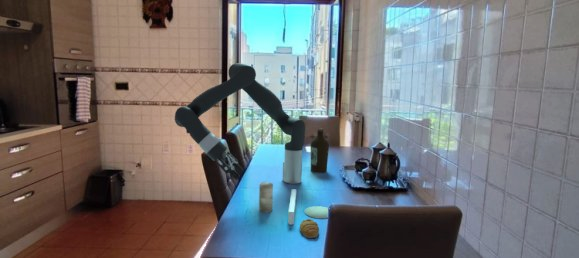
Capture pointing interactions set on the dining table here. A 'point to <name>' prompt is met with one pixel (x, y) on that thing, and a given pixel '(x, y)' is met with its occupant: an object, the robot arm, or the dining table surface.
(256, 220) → the dining table surface
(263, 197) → the dome-topped cylinder
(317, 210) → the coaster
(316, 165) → the olive oil
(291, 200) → the wall
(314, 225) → the pastry
